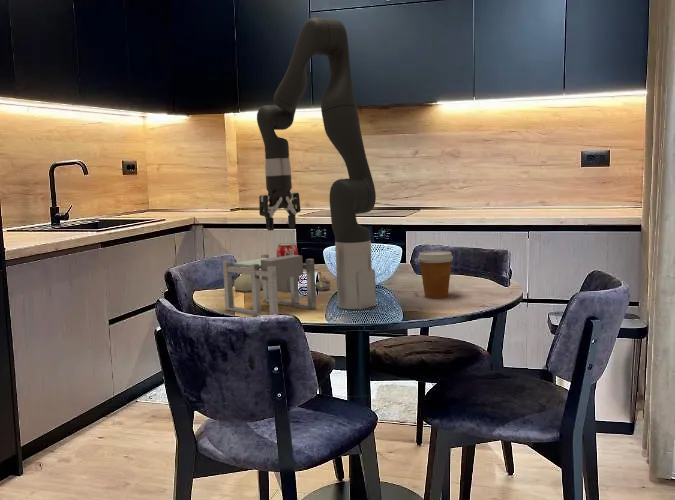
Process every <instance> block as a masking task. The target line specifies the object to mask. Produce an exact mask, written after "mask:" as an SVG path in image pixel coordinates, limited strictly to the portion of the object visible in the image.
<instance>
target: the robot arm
mask: <svg viewBox="0 0 675 500" xmlns="http://www.w3.org/2000/svg"><path fill="white" fill-rule="evenodd" d="M314 56H325V57H327V59H328V63H329V64H328V65H329V75H330V76H329V80H328V83H327V86H326V88H325V91H324V93H323V96H322V99H321V103H320V104H321V105H320V110H321V116H322V123H323V127H324V131H325V133H326V136H327V138H328V139H329V141H330V142H331V144H332V145H333V146H334V148H335V150H336V151H337V152H338V153H339V155H340V156H341V158H342V159H343V161H344V163H345V166H346V170H347V174H348V178H340V179H337V180H335V181H334V182H333V183H332V185H331V186H330V191H329V211H330V218H331V229H332V231H333V234H334V241H335V242H334V246H335V247H334V249H335V270H336V293H337V294H336V295H337V307H338V308H340V309H343V310H360V311H361V310H364V309H369V308H372V307H376V306H377V294H376V271H375V269H373V266H372V262H373V261H372V238H371V237H372V236H371V235H372V234H371V230H370V229H369V228H368V227H364V226H362V225H361V224H360V223H358V221H357V215H358V214H366V213H367V214H368V213H369V212H371V211H373V209H374V208H375V205H376V200H377V198H376V197H377V196H376V194H377V193H376V188H375V187H376V186H375V183H374V179H373V175H372V173H371V169H370V166H369V161H368V158H367V154H366V150H365V145H364V141H363V135H362V130H361V125H360V118H359V111H358V108H357V107H358V106H357V101H356V99H355V98H356V97H355V91H354V85H353V79H352V74H351V64H350V51H349V39H348V34H347V31H346V27H345V25H344V23H343V22H342V21H340V20H338V19H333V18H324V17H311V18H308V19H307V20H306V21H305V22H304V24H303V26H302V27H301V29H300V32H299V35H298V37H297V40H296V43H295V46H294V48H293V51H292V54H291V58H290V61H289V65H288V67H287V70H286V72H285V74H284V76H283V78H282V80H281V82H280V83H279V85H278V87H277V89H276V91H275V92H274V94H273V102H274V103H275V104H273V105H270V104H269V105H267V104H266V105H265V104H264V105H261V106H260V108H259V109H258V110H257V114H256V121H257V125H258V126H257V127H258V129H259V132H260V135H261V137H262V138H261V139H262V142H263V145H264V158H265V161H264V162H265V163H264V168H265V170H264V172H265V188H266V191H267V195H266V194H260V195H259V197H258V199H259V203H258V204H259V205H258V206H259V209H258V211H259V216H261V217H264V218H265V227H266V229H267V230H266V231H274V229H275V227H274V217H273V216H274V215H275V213H276V212H277V210H280V209H283V210H284V211H285V212H287V214H288V215H287V222H288V228H290V229H293V228H295V227H296V225H297V223H296V220H297V218H296V215H297V214H298V213H301V211H302V210H301V200H300V193H299V192H291V190H292V188H293V186H292V185H293V184H292V169H291V168H292V167H291V161H290V150H289V149H290V148H289V147H290V146H289V141H288V140H287V139H286V138H285V137H279V136H278V135H277V133H276V130H277V131H279V130H280V131H281V130H282V131H283V130H287V129H289V128H291V126H292V125H293V123H294V119H295V114H296V110H297V106H298V104H299V103H300V101H301V99H302V98H303V96H304V94H305V92H306V90H307V86H308V75H307V65H308V63H309V62H310V60H311V59H312V57H314Z"/></svg>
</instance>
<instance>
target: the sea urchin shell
mask: <svg viewBox="0 0 675 500" xmlns="http://www.w3.org/2000/svg"><path fill="white" fill-rule="evenodd" d="M233 286H234V289H235V290H236V291H239V292H244V293H247V292H252V284H251V274H241V275H239V276H238V277H237V278H236V279H235V280H234V282H233ZM261 290H263V283H262V276H260V291H261Z"/></svg>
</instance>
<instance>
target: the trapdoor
mask: <svg viewBox="0 0 675 500" xmlns="http://www.w3.org/2000/svg"><path fill="white" fill-rule="evenodd" d="M232 264H233V267H241V268H249V269H251V267H250V264H259V266H261V268H260V270H265V271H267V266H276V278H277V280H280V279H285V278H290V277H295V276H299V277H300V276H303V275H304V269H303V255H299V254H298V255H287V256H281V257H277V256H276V257H269V258H261V257H260V258H256V259H251V260H243V261H237V262H233V263H232ZM261 279H262V280H268V277H266V276H261Z"/></svg>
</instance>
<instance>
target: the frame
mask: <svg viewBox="0 0 675 500" xmlns="http://www.w3.org/2000/svg"><path fill="white" fill-rule="evenodd" d="M269 256H270V255H269V254H264V253H263V254H260V259H261V258H270V257H269ZM250 267H251V268H245V267H237V266H232V261H231V260H222V270H223V286H224V287H223V289H224V303H225V304H224V305H225V306H224V307H225V311H229V310H231V311H230V312H234V311H235V313H241V314H247V315H250V316H255V315H274V314H278V315H279V305H285V306H288V307H289V306H290V307H295V308H300V309H301V308H302V309H307V310H317V296H316V295H317V294H316V292H317V291H316V274H315V273H316V271H315V259H314V258H306V259H305V262H304V263H303V270H306V271H305V273H306V290H307V291H306V293H307V294H306V295H307V303H304V302H303V303H302V302H300V295H299V294H300V292H299V291H300V290H298V276H295V277H290V290H291V292H290V300H285V299H279V298H278V297H279V296H278V291H277V278H276V266H267V271H265V270H261V266H259V264H250ZM232 273H238V274H242V275H244V274H251V284H252V291H251V297H252V298H251V299H252V309H249V308H243V307H238V306H234V293H233V292H234V291H233V276H232ZM262 276H266V277H268V280H262V283H263V288H262V295H263V296H261V290H260V277H262ZM262 298H263V300H262ZM262 301H263V302H265V303H266V302H267V303H268V304H269V312H264V311H262Z"/></svg>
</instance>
